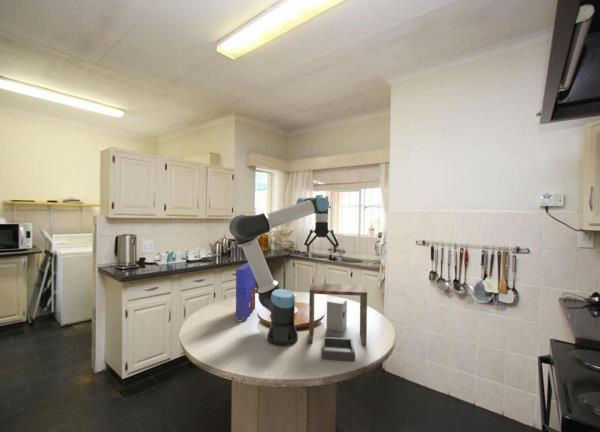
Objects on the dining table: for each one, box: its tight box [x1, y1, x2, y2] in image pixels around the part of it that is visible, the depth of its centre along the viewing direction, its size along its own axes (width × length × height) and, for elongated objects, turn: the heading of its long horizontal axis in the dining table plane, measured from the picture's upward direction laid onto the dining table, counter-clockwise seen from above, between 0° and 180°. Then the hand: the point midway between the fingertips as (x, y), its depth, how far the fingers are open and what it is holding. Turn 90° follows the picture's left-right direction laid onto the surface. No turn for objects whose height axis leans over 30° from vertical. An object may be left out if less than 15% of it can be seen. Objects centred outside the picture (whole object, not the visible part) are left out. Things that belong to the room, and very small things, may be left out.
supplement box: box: [326, 297, 348, 333], centre depth 155 cm, size 9×9×15 cm
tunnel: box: [308, 282, 368, 347], centre depth 142 cm, size 27×14×26 cm, turn 84°
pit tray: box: [321, 336, 356, 362], centre depth 127 cm, size 14×14×4 cm
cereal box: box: [235, 262, 256, 322], centre depth 174 cm, size 22×6×30 cm, turn 175°
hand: (321, 257), depth 166 cm, fingers open, 13 cm apart
